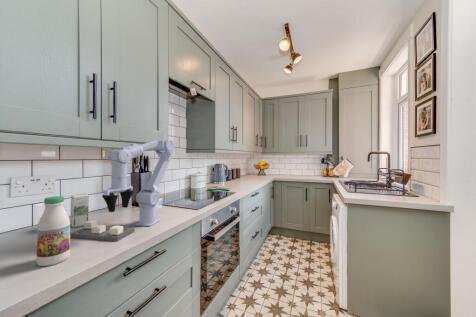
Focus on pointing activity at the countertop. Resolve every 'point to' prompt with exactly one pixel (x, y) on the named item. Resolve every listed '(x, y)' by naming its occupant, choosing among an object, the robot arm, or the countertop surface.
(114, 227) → the switch
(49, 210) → the milk bottle
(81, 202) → the syrup box
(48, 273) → the countertop surface
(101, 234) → the switch panel
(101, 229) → the switch
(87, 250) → the countertop surface
